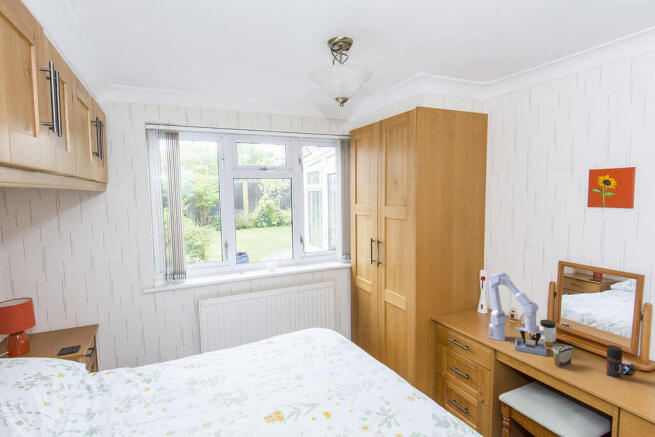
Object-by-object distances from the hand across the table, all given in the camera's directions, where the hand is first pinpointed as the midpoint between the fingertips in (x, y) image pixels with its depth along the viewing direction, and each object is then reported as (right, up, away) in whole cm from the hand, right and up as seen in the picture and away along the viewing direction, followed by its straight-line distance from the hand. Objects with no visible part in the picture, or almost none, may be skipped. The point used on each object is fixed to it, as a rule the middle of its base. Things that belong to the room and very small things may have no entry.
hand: (530, 344), depth 204 cm
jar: (+19, -2, +12) cm, 23 cm away
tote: (0, -3, 0) cm, 3 cm away
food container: (+6, -5, -17) cm, 19 cm away
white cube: (+11, -3, +7) cm, 13 cm away
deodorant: (+25, -5, -30) cm, 40 cm away
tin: (0, -3, +1) cm, 3 cm away
